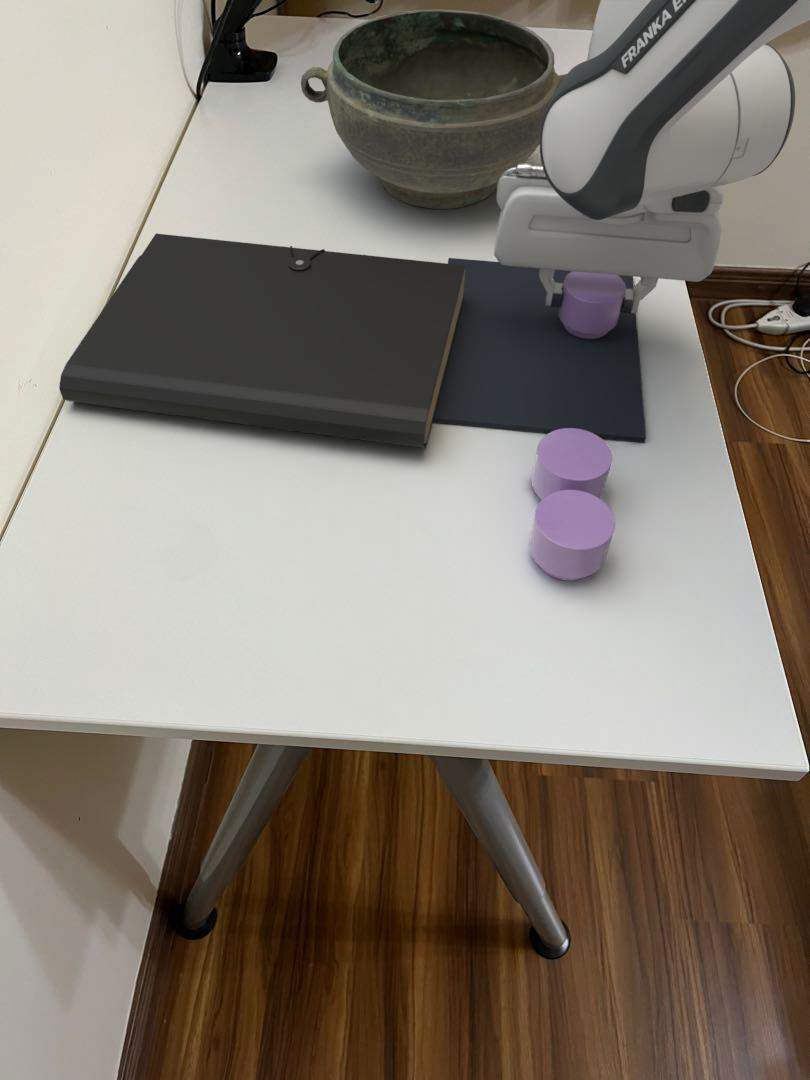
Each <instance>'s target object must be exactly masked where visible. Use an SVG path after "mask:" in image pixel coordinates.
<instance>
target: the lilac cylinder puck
mask: <svg viewBox="0 0 810 1080" xmlns="http://www.w3.org/2000/svg"><path fill="white" fill-rule="evenodd" d="M532 521H533V522H532V527H531V530H530V535H529V542H528V548H529V552H530V555H531V557H532V559H533V560H534V562H535V563H536V564H537V566H539V568H540V569H541V570H542V571H543V572H544V573H546V574H547V575H549V576H550V577H552V578H554V579H557V580H562V581H577V580H580V579H584V578H586V577H589V576H591V575H593V574H595V573H596V572H597V571H599V570H600V568H602V566H603V565H604V563H605V561H606V558H607V555H608V551H609V548H610V545H611V542H612V539H613V536H614V533H615V529H616V519H615V516H614V513H613V511H612V510H611V508H610V507H609V505H608V504H607V503H606V502H605V501H603V499H601V498H600V499H599V498H598V497H596V496H594V495H592V494H590V493H587V492H583V491H579V490H560V491H556V492H554V493H551V494H549V495H547V496H546V497H544V498H543V499H542V500H541V499H540V501H539V502H538V504H537V506H536V508H535V512H534V516H533V520H532Z"/></svg>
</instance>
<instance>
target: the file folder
mask: <svg viewBox="0 0 810 1080" xmlns="http://www.w3.org/2000/svg"><path fill="white" fill-rule="evenodd" d="M465 267H466V266H465V265H456V264H448V263H445V262H435V261H425V260H416V259H408V258H407V259H405V258H398V257H397V258H396V257H388V256H387V257H386V256H378V255H370V254H369V255H368V254H358V253H349V252H348V253H347V252H338V251H330V250H329V251H328V250H326V249H325V248H323V249H309V248H301V247H300V248H299V247H293V246H292V245H290V246H280V245H271V244H262V243H261V244H260V243H251V242H242V241H233V240H224V239H223V240H222V239H213V238H212V239H211V238H204V237H193V236H184V235H176V234H164V233H154V235H153V237H152V238H151V240H150V242H149V243H148V244H147V246H146V247H145V249H144V251H143V252H142V254H140V255H139V256H138V257H137V259H136V260H135V262H133V264H132V265H131V267H130V269H129V270H128V272H127V273H126V274H125V276H124V278H123V279H122V281H121V282H120V284H119V285H118V287H117V288H116V289H115V291H114V292H113V294H112V295H111V297H110V298H109V300H108V302H107V303H106V304H105V306H104V307H103V309H102V310H101V312H100V313H99V315H98V316H97V318H96V319H95V320H94V322H93V324H92V325H91V326H90V328H89V329H88V331H87V332H86V334H85V335H84V337H83V338H82V339H81V341H80V343H79V344H78V346H77V347H76V348H75V350H74V351H73V353H72V354H71V356H70V357H69V359H68V360H67V362H66V363H65V364H64V368H63V370H62V371H61V373H60V374H61V375H60V379H59V392H60V395H61V398H62V400H64V401H67V402H71V403H77V404H79V403H80V404H88V405H94V406H102V407H110V408H117V409H118V408H119V409H125V410H132V411H139V412H147V413H155V414H162V415H170V416H178V417H185V418H192V419H193V418H194V419H199V420H200V419H202V420H209V421H215V422H216V421H217V422H223V423H231V424H240V425H246V426H247V425H248V426H253V427H262V428H270V429H278V430H284V431H292V432H298V433H299V432H300V433H309V434H315V435H322V436H323V435H324V436H331V437H338V438H347V439H352V440H353V439H355V440H361V441H369V442H376V443H384V444H392V445H398V446H408V447H413V448H421V449H426V447H427V444H428V441H429V437H430V433H431V429H432V425H433V423H434V422H433V418H434V414H435V410H436V406H437V402H438V398H439V394H440V390H441V386H442V382H443V378H444V374H445V370H446V366H447V362H448V358H449V354H450V350H451V346H452V342H453V338H454V334H455V330H456V326H457V322H458V318H459V314H460V310H461V306H462V302H463V298H464V295H463V292H464V290H463V289H464V280H465V278H464V277H465V276H464V275H465Z"/></svg>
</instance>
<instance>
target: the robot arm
mask: <svg viewBox="0 0 810 1080" xmlns="http://www.w3.org/2000/svg"><path fill="white" fill-rule="evenodd" d="M809 21H810V0H600V1H599V4H598V8H597V12H596V15H595V19H594V24H593V28H592V32H591V36H590V41H589V45H588V51H587V57H586V60H585V61H582V62H580V63H578V64H576V65H574V67H572V68H571V69H570V70H569V71H568V73H566V74H567V75H566V76H565V78H564V79H563V80H562V82H561V83H560V85H559V86H558V88H557V90H556V92H555V93H554V95H553V97H552V99H551V101H550V103H549V105H548V108H547V110H546V113H545V116H544V118H543V122H542V126H541V132H540V144H539V156H540V163H541V164H533V163H530V162H525V163H519V164H517V167H513V168H510V169H508V170H506V171H505V172H503V173H502V175H501V176H500V178H499V180H498V185H497V186H496V195H495V199H496V203H497V205H498V208H500V209H501V210H500V214H499V218H498V223H497V228H496V233H495V239H494V240H495V241H494V247H493V248H494V249H493V255H494V257H495V259H496V260H497V262H499V263H500V264H501V265H505V266H516V267H528V268H539V278H540V280H541V282H542V284H543V286H544V288H545V290H546V303H545V306H552V307H560V306H561V300H562V295H563V290H562V289H563V283H555V282H554V279H553V277H554V272H555V270H564V271H576V272H588V273H600V274H611V275H623V276H633V277H637V278H640V280H639V281H638V282H637V283H635V284H634V288H633V289H626V292H625V296H624V300H623V304H622V308H621V312H623V313H634V314H636V315H637V312H638V310H639V309H638V308H639V305H640V302H641V301H642V300H643V299H644V298H645V297H646V296H647V295H649V294H650V293H651V292H652V291H653V290H654V289H655V288H656V287H657V284H658V280H659V279H660V280H671V281H672V280H673V281H683V282H684V281H685V282H695V283H698V282H702V281H704V280H705V279H706V278H708V277H709V276H710V275H711V274H713V271H714V269H715V265H716V261H717V257H718V253H719V248H720V245H721V238H722V222H721V216H720V212H719V211H720V208H721V206H722V204H723V201H724V186H726V185H730V184H733V183H737V182H740V181H744V180H747V179H749V178H751V177H756V176H757V175H761V174H762V173H764V172H765V171H766V170H767V169H768V168H769V167H770V166H772V164H773V163H774V162H775V161H776V159H777V158H778V156H779V155H780V153H781V151H782V150H783V148H784V147H785V145H786V142H787V140H788V138H789V135H790V133H791V129H792V125H793V122H794V118H795V109H796V87H795V82H794V77H793V74H792V71H791V69H790V67H789V65H788V63H787V61H786V60H785V58H784V57H783V56H782V54H781V53H780V52H779V51H778V49H776V48H775V47H774V46H773V45H770V44H768V43H769V42H771V41H772V40H774V39H776V38H777V37H779V36H781V35H783V34H784V33H786V32H788V31H790V30H792V29H794V28H796V27H798V26H800V25H802V24H805V23H806V22H809ZM511 173H512V174H511Z"/></svg>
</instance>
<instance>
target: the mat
mask: <svg viewBox="0 0 810 1080" xmlns="http://www.w3.org/2000/svg"><path fill="white" fill-rule="evenodd" d="M447 264H456V265H465V266H466V267H465V275H464V276H465V277H464V278H465V280H464V289H463V290H464V292H463V295H464V298H463V302H462V306H461V310H460V314H459V318H458V322H457V326H456V330H455V334H454V338H453V342H452V346H451V350H450V354H449V358H448V362H447V366H446V370H445V374H444V378H443V382H442V386H441V390H440V394H439V398H438V402H437V406H436V410H435V414H434V418H433V422H432V423H437V424H447V425H455V426H456V425H459V426H465V427H466V426H468V427H477V428H478V427H479V428H488V429H497V430H499V429H500V430H508V431H519V432H531V433H539V434H548V433H550V432H552V431H555V430H558V429H563V428H577V429H582V430H586V431H589V432H591V433H593V434H595V435H597V436H598V437H600V438H601V439H602V440H612V441H613V440H614V441H622V442H635V443H646V440H647V431H646V419H645V405H644V395H643V383H642V370H641V359H640V358H641V357H640V345H639V334H638V333H639V331H638V321H637V313H636V314H634V313H623V312H620V316H619V320H618V323H617V325H616V326H615V327H614V328H613V329H612V330H610V331H609V332H608V333H607V334H606V335H604V336H602V337H599V338H595V339H586V338H580V337H577V336H574V335H572V334H571V333H569V332H568V331H567V330H566V329H565V328H564V326H563V323H562V321H561V320H560V318H559V315H558V311H559V307H552V306H545V303H546V290H545V288H544V286H543V284H542V282H541V280H540V278H539V268H528V267H516V266H505V265H501V264H500V263H499V261H494V260H493V261H491V260H480V259H479V260H477V259H469V258H454V257H448V260H447ZM570 272H572V271H564V270H555V272H554V277H553V279H554V282H555V283H564V279H565V277H566V276H567V275H568V274H569V273H570ZM617 276H619V277H620V278H621V279H622V280H623V281H624V283H625V285H626V289H633V288H634V286H635V284H634V276H623V275H617Z"/></svg>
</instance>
